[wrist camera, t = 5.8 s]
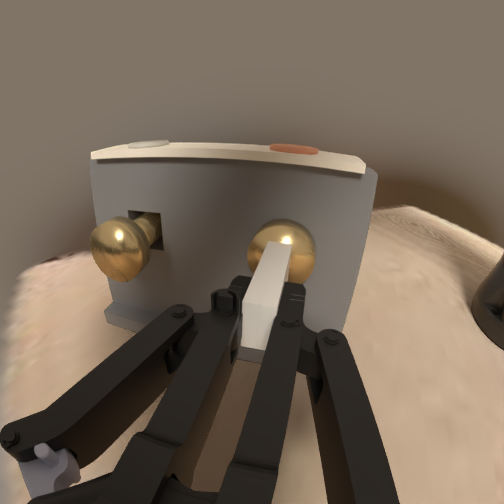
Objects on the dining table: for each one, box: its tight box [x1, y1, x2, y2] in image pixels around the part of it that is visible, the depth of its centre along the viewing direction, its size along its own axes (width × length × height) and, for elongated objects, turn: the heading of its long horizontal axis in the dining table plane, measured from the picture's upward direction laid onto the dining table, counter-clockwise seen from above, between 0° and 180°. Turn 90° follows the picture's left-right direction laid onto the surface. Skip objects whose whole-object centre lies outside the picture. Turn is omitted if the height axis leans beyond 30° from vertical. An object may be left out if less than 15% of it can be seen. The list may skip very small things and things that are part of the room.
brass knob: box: [247, 219, 316, 284], centre depth 22 cm, size 9×4×4 cm, turn 167°
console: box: [89, 140, 378, 364], centre depth 22 cm, size 6×22×17 cm, turn 77°
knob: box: [90, 212, 163, 282], centre depth 22 cm, size 9×4×4 cm, turn 167°
